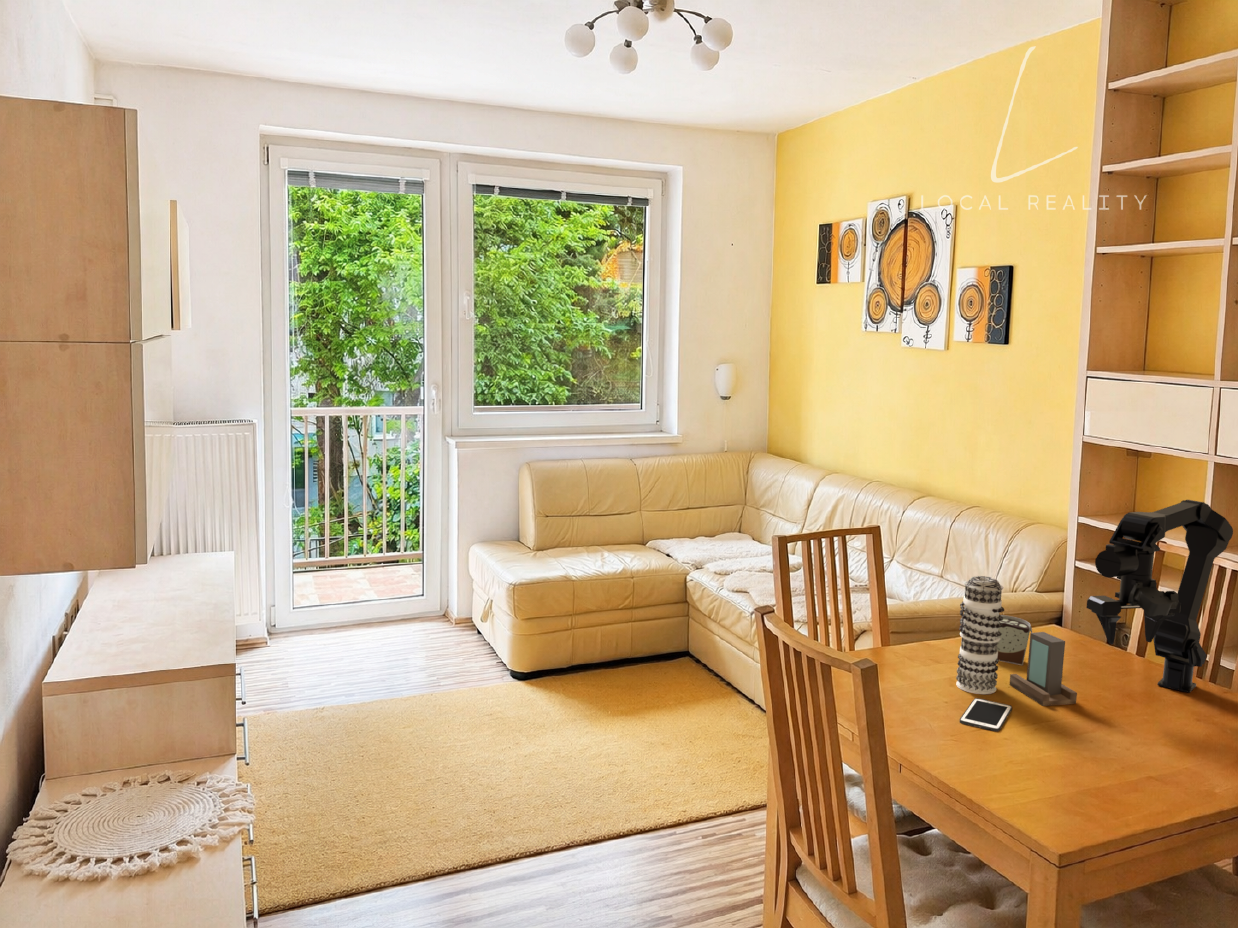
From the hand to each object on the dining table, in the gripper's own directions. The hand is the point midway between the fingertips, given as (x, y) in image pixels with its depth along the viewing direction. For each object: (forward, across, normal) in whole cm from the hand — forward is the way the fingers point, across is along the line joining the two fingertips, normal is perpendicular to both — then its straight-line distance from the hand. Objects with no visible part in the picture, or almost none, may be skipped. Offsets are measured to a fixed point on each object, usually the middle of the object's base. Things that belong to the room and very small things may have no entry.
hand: (1129, 642), depth 201 cm
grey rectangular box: (+12, -16, +6) cm, 21 cm away
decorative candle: (+13, -28, +12) cm, 33 cm away
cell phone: (+14, -35, -3) cm, 37 cm away
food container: (+13, -11, +28) cm, 33 cm away
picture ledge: (+13, -16, +6) cm, 21 cm away
